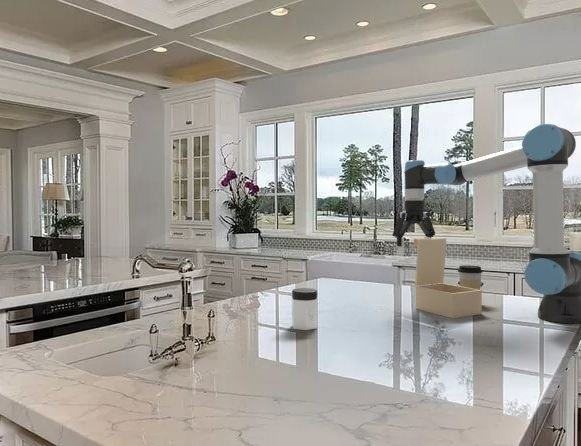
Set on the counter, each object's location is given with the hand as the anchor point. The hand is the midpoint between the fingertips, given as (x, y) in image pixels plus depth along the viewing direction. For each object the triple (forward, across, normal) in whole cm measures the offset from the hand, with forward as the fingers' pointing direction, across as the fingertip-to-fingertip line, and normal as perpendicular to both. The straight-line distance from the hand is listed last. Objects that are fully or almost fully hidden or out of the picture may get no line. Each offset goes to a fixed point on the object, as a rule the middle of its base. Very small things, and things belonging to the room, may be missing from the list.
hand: (414, 254), depth 193 cm
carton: (+20, 0, +18) cm, 27 cm away
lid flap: (+2, 0, +10) cm, 10 cm away
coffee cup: (+20, -19, +11) cm, 30 cm away
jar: (+20, +56, +11) cm, 60 cm away
